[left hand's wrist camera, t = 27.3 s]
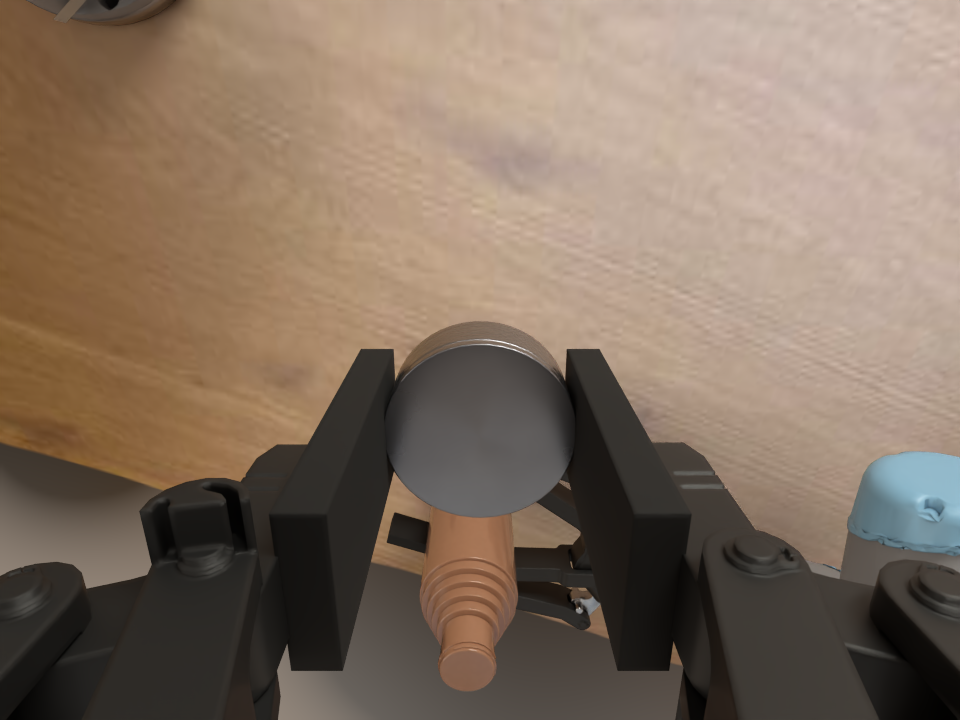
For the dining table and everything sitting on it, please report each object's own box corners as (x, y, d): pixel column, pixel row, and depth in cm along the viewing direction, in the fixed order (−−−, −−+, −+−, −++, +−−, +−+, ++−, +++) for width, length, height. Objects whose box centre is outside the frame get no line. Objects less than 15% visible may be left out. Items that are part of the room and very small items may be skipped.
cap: (578, 327, 14) (590, 352, 12) (556, 485, 15) (564, 524, 14) (395, 313, 13) (384, 336, 12) (390, 473, 15) (380, 512, 13)
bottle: (515, 483, 51) (538, 697, 32) (450, 502, 52) (433, 723, 32) (494, 424, 49) (504, 614, 30) (426, 445, 50) (392, 643, 30)
